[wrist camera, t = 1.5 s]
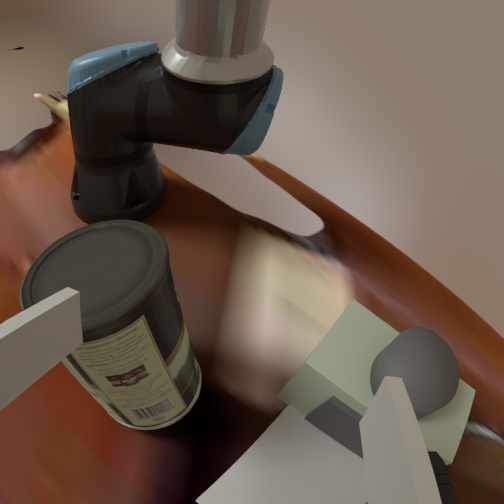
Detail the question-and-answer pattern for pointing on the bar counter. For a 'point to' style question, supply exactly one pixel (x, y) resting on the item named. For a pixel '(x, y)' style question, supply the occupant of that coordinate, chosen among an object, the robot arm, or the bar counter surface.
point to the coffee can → (122, 320)
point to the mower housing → (346, 414)
